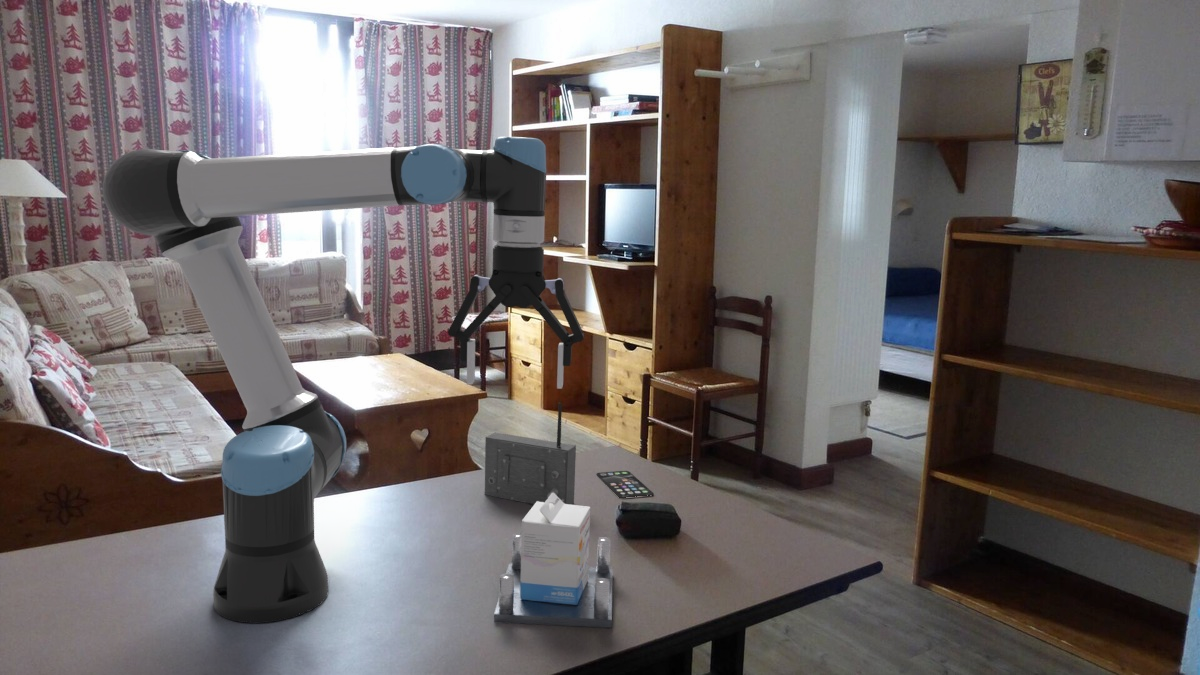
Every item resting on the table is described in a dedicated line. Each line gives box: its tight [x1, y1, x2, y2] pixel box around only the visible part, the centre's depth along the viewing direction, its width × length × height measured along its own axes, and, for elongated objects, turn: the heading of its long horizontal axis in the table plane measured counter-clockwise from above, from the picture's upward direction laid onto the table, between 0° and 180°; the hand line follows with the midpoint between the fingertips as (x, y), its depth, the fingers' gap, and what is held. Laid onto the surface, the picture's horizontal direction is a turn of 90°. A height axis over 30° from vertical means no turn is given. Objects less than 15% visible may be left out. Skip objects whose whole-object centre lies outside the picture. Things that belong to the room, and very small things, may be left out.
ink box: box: [520, 493, 592, 605], centre depth 124 cm, size 9×8×13 cm
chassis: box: [493, 532, 614, 629], centre depth 125 cm, size 16×16×6 cm
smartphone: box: [596, 470, 655, 499], centre depth 173 cm, size 7×1×15 cm
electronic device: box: [484, 402, 577, 505], centre depth 160 cm, size 17×7×20 cm, turn 68°
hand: (515, 384), depth 131 cm, fingers open, 13 cm apart
